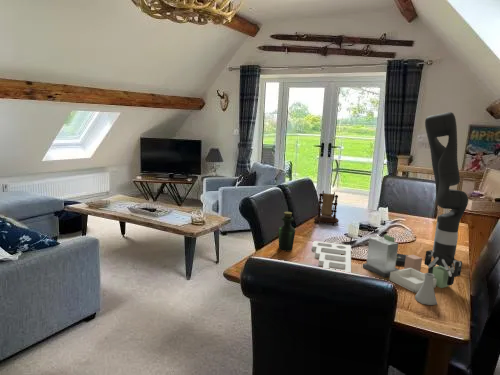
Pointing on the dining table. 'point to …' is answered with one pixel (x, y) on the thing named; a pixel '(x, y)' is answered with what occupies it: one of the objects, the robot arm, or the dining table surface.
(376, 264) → the block
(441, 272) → the sage block
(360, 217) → the dining table surface
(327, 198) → the scroll
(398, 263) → the disk drive
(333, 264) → the holder
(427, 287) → the flask
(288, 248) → the potion bottle
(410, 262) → the terracotta block
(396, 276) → the tray
